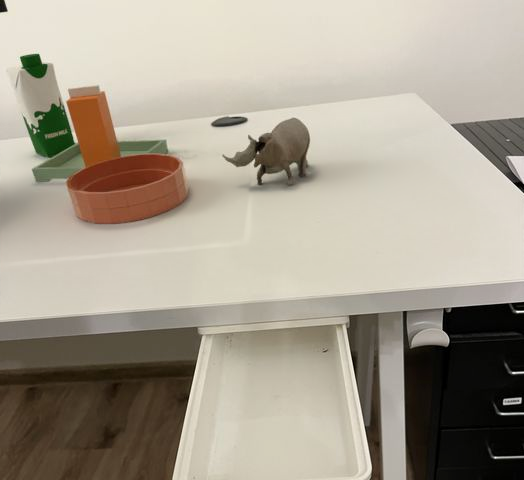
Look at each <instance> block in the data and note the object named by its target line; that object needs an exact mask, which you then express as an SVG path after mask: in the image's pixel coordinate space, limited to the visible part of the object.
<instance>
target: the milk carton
mask: <svg viewBox="0 0 524 480" xmlns="http://www.w3.org/2000/svg"><path fill="white" fill-rule="evenodd" d="M19 59H20V63H21V65H18V66H13V67H8V68H5V72H6V73H7V76H8V79H9V81H10V84H11V87H12V89H13V92H14V95H15V97H16V101H17V104H18V106H19V110H20V113H21V115H22V118H23V121H24V124H25V127H26V130H27V133H28V135H29V138H30V141H31V143H32V146H33V148H34V152H35V153H36V154H38V155H41V156H43V157H46V158H52V157H53V156H55V155H57V154H59V153H60V152H62V151H64V150H66V149H67V148H69V147H71V146H73V145H74V144H76V142H75V140H74V135H73V132H72V128H71V125H70V121H69V118H68V114H67V111H66V108H65V104H64V100H63V97H62V95H61V91H60V88H59V84H58V80H57V77H56V72H55V66H54V63H51V62H45V61H42V59H41V55H40V53H30V54H25V55H21V56H19Z"/></svg>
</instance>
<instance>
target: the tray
mask: <svg viewBox="0 0 524 480" xmlns="http://www.w3.org/2000/svg"><path fill="white" fill-rule="evenodd" d="M117 142H118V146H119V150H120V154H121V157H122V156H127V155H135V154H149V153H159V154H167V153H168V152H169V148H168V143H167V139H141V140H140V139H137V140H117ZM82 168H85V164H84V160H83V157H82V154H81V150H80V147H79V143H78V142H75V144H74V145H73V146H71V147H69V148H67V149H66V150H64V151H62V152H60V153H59V154H57V155H55V156H52V157H49V158H48V159H46V160H44V161H43V162H41V163H39V164H38V165H36V166H33V168H31V172H32V174H33V177H34V180H35V182H51V180H52V179H69V177H70V176H71V175H72V174H74V173H75V172H77V171H79V170H80V169H82Z"/></svg>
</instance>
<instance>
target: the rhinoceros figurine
mask: <svg viewBox="0 0 524 480" xmlns="http://www.w3.org/2000/svg"><path fill="white" fill-rule="evenodd" d="M310 135H311V134H310V132H309V129H308V127H307V126H306V124H304V122H303V121H301V120H300V119H298V118H297V117H294V116H293V117H291V118H288V119H285V120H282V121H280V122H279V123H278V124H277V125H276V126H275V127H274V128H273V129H272V131H271V132H265V133H263V134H261V135H259V137H258V138H257V139H258V140H257V139H254V138H253V137H252V136H251V135H250V134H248V135H247V139H248V140H249V144H248V146H247V147H246V148H245V149H244V150H242V151H236V152H235V155H234V156H233V157H228V156H226V155H225V154H224V153H222V154H221V155H222V158H223V159H224V160H225V161H226V162H228V163H230V164H232V165H233V166H235V167H236V168H242V167H247V166H249V165H250V164H251V163H253V162H254V163H253V167H254V168H258V167H259V168H258V170H257V172H256V180H257V185H259V186H261V185H263V180H262V178H263V177H264V176H265V174H266V175H272V174H273V175H274V174H278V173H280V172H283V171H284V172H286V177H287V183H286V185H288V186H293V184H294V177H293V173H292V171H291V165H293V164H296V166H297V169H298V176H299V177H300V178H302V179H303V178H306V177H309V174H308V172H307V170H306V168H307V167H309V161H308V159H307V155H308V152H309V149H310V144H311V136H310Z"/></svg>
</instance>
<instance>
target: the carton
mask: <svg viewBox="0 0 524 480" xmlns="http://www.w3.org/2000/svg"><path fill="white" fill-rule="evenodd" d="M67 92H68V96H69V98H68V99H67V100H65V102H66V106H67V109H68V113H69V116H70V119H71V123H72V127H73V129H74V133H75V137H76V140H77V143H79V147H80V150H81V154H82V157H83V160H84V164H85V167H87V166H89V165H92V164H95V163H98V162H101V161H104V160H108V159H112V158H117V157H121V154H120V150H119V146H118V142H117V141H118V139H117V138H118V137H117V134H116V131H115V127H114V123H113V119H112V116H111V111H110V107H109V103H108V100H107V96H106V92H105V90H102V91H101V89H100V85H99V84H95V85H87V86H86V85H85V86H77V87H69V88H68V89H67Z"/></svg>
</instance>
